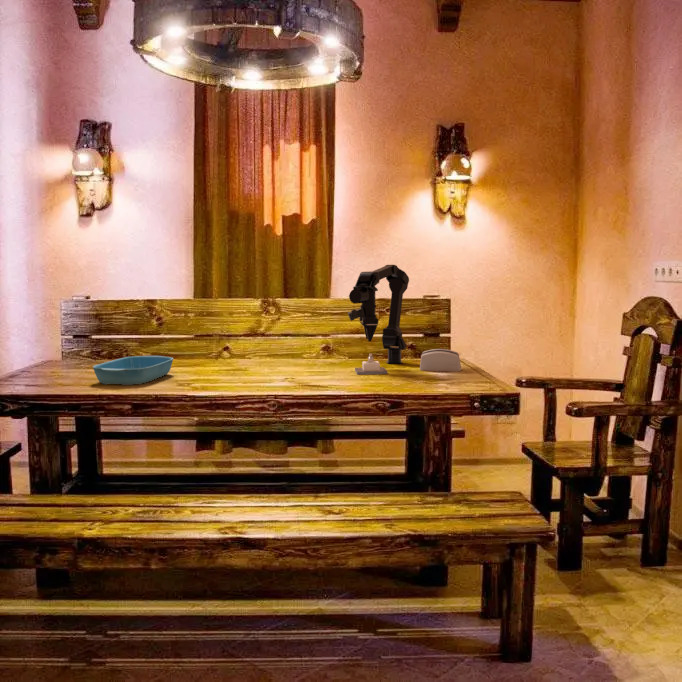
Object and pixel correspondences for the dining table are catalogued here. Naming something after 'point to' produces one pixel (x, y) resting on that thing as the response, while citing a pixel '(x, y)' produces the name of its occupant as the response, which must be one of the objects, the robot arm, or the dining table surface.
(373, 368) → the collar
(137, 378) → the casserole dish
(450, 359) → the napkin holder
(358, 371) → the grey base with post
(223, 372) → the dining table surface
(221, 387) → the dining table surface
